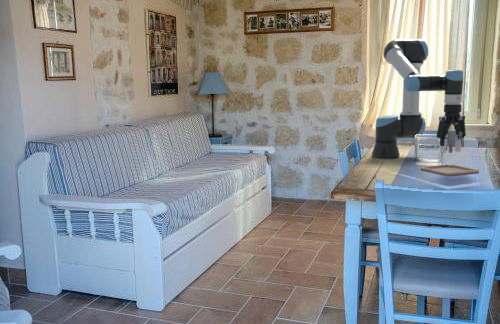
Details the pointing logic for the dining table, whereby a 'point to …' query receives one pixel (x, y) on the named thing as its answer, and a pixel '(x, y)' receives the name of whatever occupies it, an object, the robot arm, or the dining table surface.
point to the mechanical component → (452, 139)
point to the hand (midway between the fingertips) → (450, 152)
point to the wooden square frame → (449, 169)
